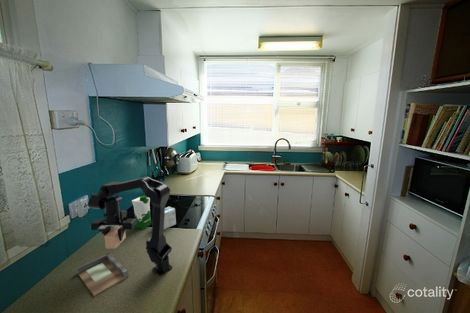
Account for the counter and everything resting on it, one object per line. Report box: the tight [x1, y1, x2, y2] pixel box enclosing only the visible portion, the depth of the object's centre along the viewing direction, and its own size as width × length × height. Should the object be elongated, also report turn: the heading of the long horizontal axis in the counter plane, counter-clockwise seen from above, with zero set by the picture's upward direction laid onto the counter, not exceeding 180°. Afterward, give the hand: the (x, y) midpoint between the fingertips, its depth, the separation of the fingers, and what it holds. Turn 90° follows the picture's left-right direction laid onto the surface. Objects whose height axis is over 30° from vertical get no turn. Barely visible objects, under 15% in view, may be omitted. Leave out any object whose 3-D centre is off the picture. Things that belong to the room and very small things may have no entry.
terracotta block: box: [103, 226, 127, 249], centre depth 98 cm, size 4×9×6 cm, turn 0°
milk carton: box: [131, 194, 152, 230], centre depth 133 cm, size 9×9×20 cm
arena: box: [76, 252, 129, 297], centre depth 92 cm, size 20×13×3 cm, turn 52°
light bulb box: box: [164, 206, 177, 230], centre depth 133 cm, size 11×7×11 cm, turn 141°
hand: (116, 240), depth 99 cm, fingers closed on terracotta block, 4 cm apart
